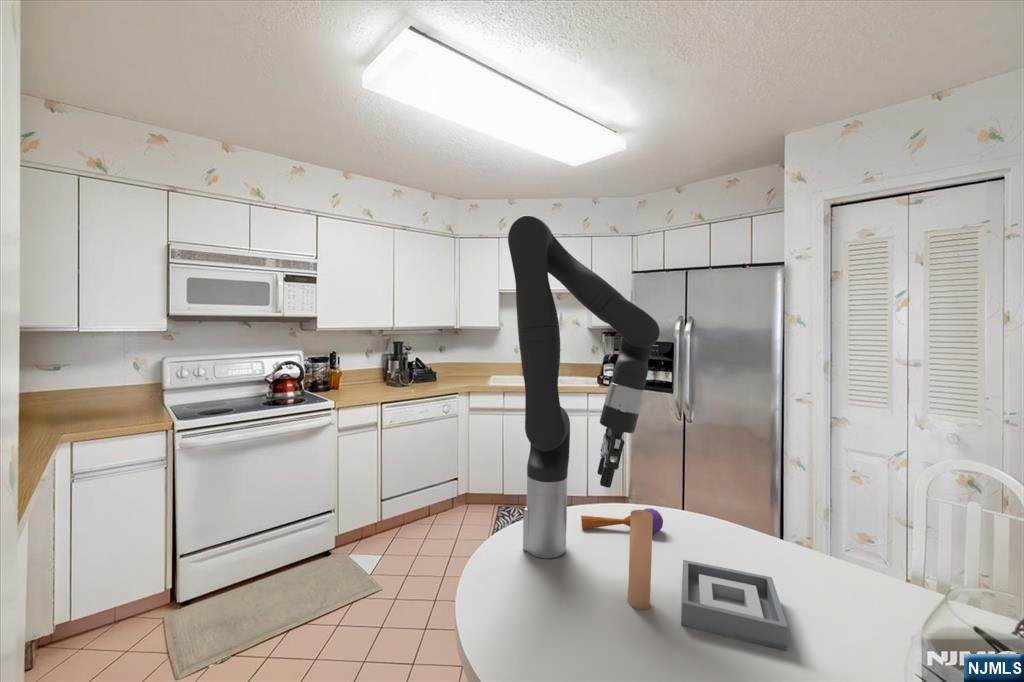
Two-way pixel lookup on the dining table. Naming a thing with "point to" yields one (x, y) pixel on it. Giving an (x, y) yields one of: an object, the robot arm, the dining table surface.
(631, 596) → the peg
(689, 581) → the box
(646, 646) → the dining table surface
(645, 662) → the dining table surface
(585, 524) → the kendama
